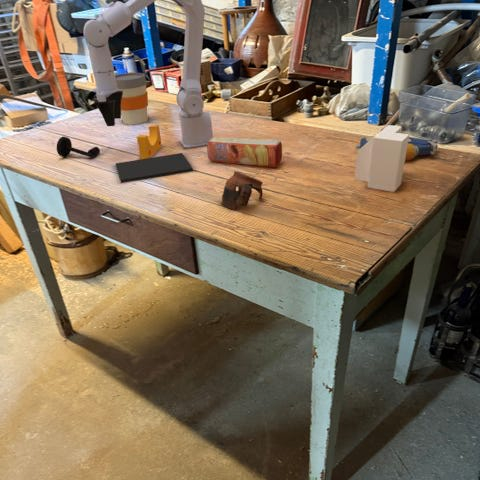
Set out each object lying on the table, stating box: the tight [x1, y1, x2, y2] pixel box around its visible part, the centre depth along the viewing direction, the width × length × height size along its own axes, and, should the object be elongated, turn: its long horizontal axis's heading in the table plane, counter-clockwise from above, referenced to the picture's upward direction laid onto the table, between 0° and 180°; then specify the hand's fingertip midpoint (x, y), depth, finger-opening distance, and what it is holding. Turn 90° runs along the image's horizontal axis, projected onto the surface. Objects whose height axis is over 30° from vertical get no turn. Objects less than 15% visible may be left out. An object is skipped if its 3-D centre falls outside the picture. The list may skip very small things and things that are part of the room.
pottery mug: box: [221, 170, 264, 211], centre depth 111 cm, size 12×10×8 cm
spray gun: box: [355, 135, 439, 161], centre depth 133 cm, size 21×4×15 cm
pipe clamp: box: [136, 124, 163, 159], centre depth 144 cm, size 12×4×6 cm, turn 168°
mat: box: [115, 152, 194, 183], centre depth 135 cm, size 20×14×1 cm
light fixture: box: [56, 136, 101, 159], centre depth 147 cm, size 6×11×13 cm
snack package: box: [206, 136, 283, 168], centre depth 132 cm, size 21×7×7 cm, turn 67°
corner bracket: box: [354, 124, 410, 193], centre depth 116 cm, size 11×11×12 cm
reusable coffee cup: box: [115, 72, 149, 126], centre depth 170 cm, size 13×13×15 cm
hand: (114, 122), depth 139 cm, fingers open, 7 cm apart
